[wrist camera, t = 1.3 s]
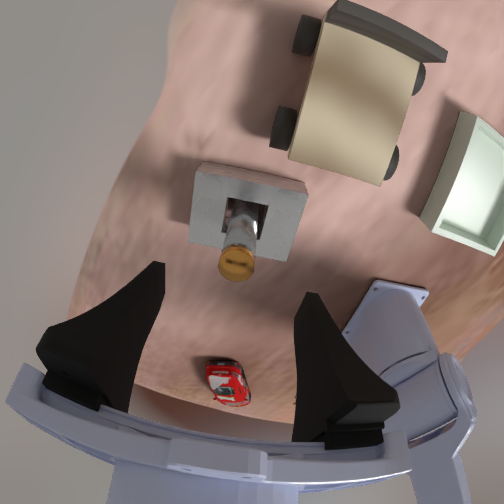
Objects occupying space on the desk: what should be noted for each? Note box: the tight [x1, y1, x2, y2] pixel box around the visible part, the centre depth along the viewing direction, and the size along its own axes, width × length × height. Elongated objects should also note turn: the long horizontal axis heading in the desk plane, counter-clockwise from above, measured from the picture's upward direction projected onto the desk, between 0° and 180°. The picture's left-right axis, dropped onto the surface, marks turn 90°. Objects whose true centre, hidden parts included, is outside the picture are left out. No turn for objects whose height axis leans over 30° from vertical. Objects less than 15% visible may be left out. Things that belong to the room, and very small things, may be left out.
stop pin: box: [218, 199, 259, 282], centre depth 19 cm, size 2×2×8 cm
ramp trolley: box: [269, 0, 448, 186], centre depth 14 cm, size 10×9×7 cm
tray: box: [419, 111, 504, 256], centre depth 18 cm, size 11×11×2 cm
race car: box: [206, 361, 251, 407], centre depth 37 cm, size 13×5×4 cm, turn 6°
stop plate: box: [188, 161, 308, 262], centre depth 21 cm, size 6×8×2 cm
